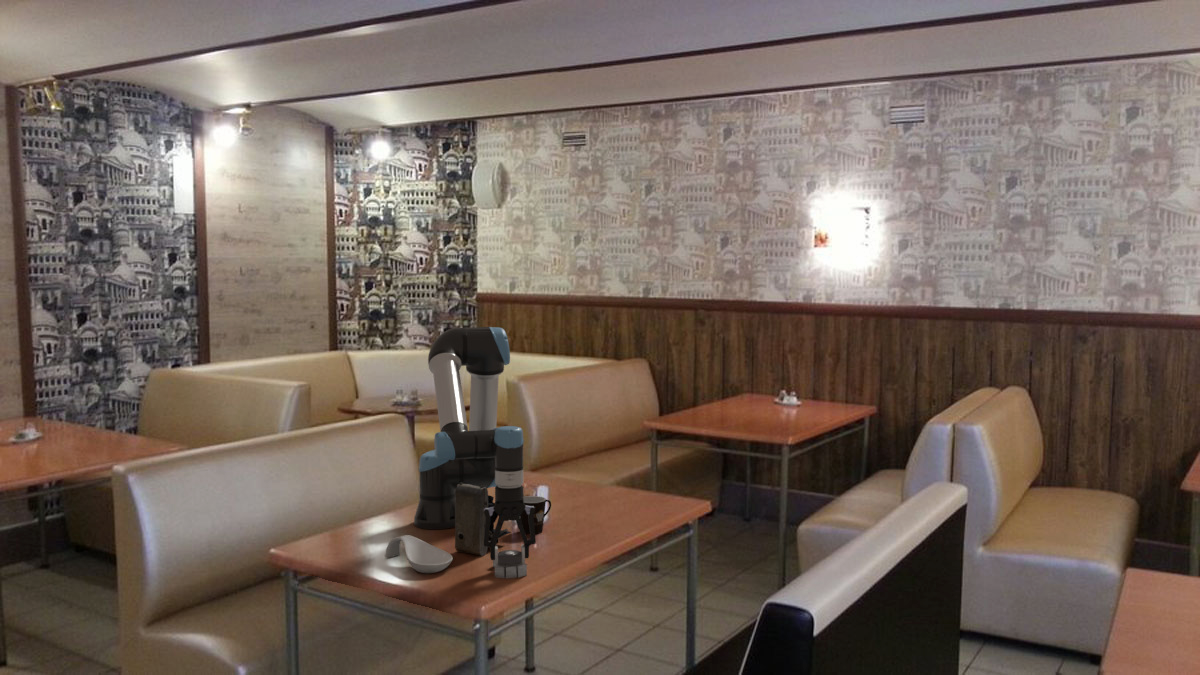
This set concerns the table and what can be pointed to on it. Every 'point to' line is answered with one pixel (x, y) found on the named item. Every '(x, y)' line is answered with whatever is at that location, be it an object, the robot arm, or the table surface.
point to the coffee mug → (535, 513)
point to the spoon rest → (420, 554)
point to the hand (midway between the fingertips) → (509, 570)
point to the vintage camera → (473, 519)
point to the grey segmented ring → (510, 570)
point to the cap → (509, 557)
